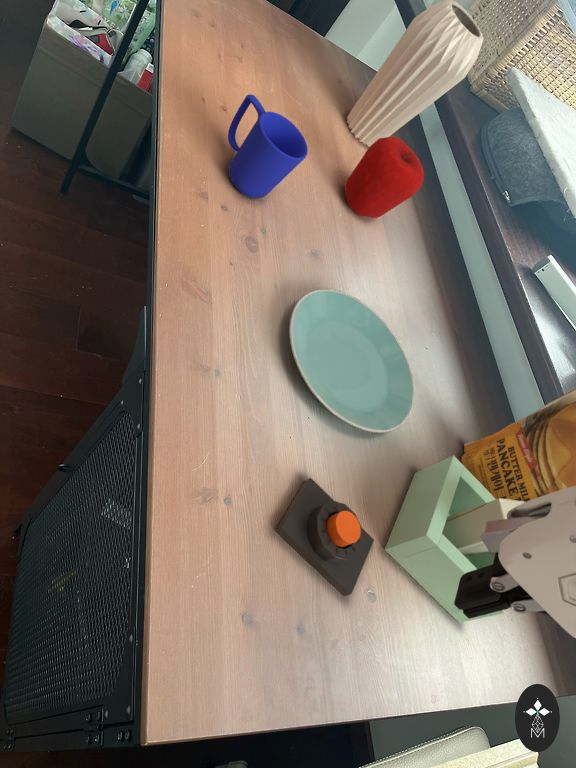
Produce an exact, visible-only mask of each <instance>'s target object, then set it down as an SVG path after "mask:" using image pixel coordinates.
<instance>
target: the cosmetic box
mask: <svg viewBox="0 0 576 768" xmlns="http://www.w3.org/2000/svg"><path fill="white" fill-rule="evenodd" d="M523 503H525V502H523V501H517V500H509V499H500V498H499V499H496V500H493V501H490V502H488V503H485V504H482V505H479V506H476V507H473V508H471V509H468V510H465V511H462V512H459V513H456V514H454V515H451V516H448V517H447V519H446V522H445V525H444V528H443V531H442V534H443V535H444V536H445V537H446V538H447V539H448V540H449V541H450V542H451V543H452V544H453V545H454V546H455V547H456V548H457V549H458V550H459V551H460V552H461V553H462V554H463V555H464V556H465V557H466V558H468V557H471V556H475V555H478V554H482V553H485V552H489V551H488V549H487V547H486V546H485V544H484V543H483V541H482V539H481V534H482V530H483V526H484V523H485V522H489V521H496V520H502V519H507V513H508V512H509V511H510V510H511V509H513V508H515V507H516V506H518V505H521V504H523Z"/></svg>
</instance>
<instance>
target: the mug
mask: <svg viewBox="0 0 576 768" xmlns="http://www.w3.org/2000/svg"><path fill="white" fill-rule="evenodd" d="M250 105H252V106H253V108H254V109H255V111H256V113H257V120H256V121H255V123H254V125H253V126H252V128H251V129H250V131H249V132H248V133H247V136H246V137H245V138H244V140H243V141H242V142H241V143H242V144H241V145H240V146H239V145H238V142H237V140H236V134H237V129H238V127H239V124H240V122H241V121H242V119H243V117H244V116H245V114H246V112H247V111H248V109H249V107H250ZM227 141H228V144H229V147H230V148H231V149H232V150H233V151H235V152H236V153H235V155H234V156H233V158H232V160H231V161H230V163H229V167H228V175H229V179H230V181H231V183H232V184H233V186H234V187H235V189H237V191H239V192H240V193H241V194H243V195H244V196H246V197H248V198H251V199H261V198H264V197H265V196H267V195H268V194H269V193H270V192H272V191H273V190H274V189H275V188H276V187H277V186H278V185H279V184H280V183H281V182H282V181H283V180H284V179H285V178H286V177H287V176H288V175H289V174H290V173H291V172H292V171H293V170H294V169H296V168H297V167H298V166H299V165H300V164H301V163H302V162H303V161H304V160H305V159H306V158H307V156H308V153H309V150H308V149H309V147H308V144H307V141H306V139H305V137H304V136H303V134H302V132H301V131H300V129H299V128H298V127H297V126H296V125H295V124H294V123H293V122H292V121H291V120H290V119H288V118H287V117H285V116H284V115H282V114H280V113H278V112H275V111H266V110H265V108H264V107H263V104H262V103H261V102H260V101H259V99H258V98H257V96H255V95H254V94H252V93H251V94H247V95H246V96H245V97H244V99H243V101H242V102H241V104H240V106H239V107H238V109H237V111H236V113H235V114H234V116H233V119H232V121H231V122H230V125H229V128H228V131H227Z"/></svg>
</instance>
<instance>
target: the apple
mask: <svg viewBox="0 0 576 768" xmlns="http://www.w3.org/2000/svg"><path fill="white" fill-rule="evenodd" d="M424 176H425V171H424V167H423V165H422V163H421V161H420V158H419V157H418V156H417V155H416V153H415V151H413V150H412V149H411V147H409V146H408V144H407V143H405V141H403V140H402V139H401V138H399V137H396V136H389V137H386V138H379V139H378V140H377V141H376V142H374V143H373V144H372V145H371V146H370V147H368V148H367V150H366V151H365V153H364V154H363V156H362V157H361V159H360V160H359V162H358V163H357V165H356V166H355V168H354V169H353V170H352V172H351V173H350V175H349V176H348V177H347V179H346V181H345V199H346V202H347V204H348V206H349V207H350V209H351V210H352V211H353V213H354V214H356V215H358V216H360V217H366V218H372V219H378V218H380V217H382V216H385V214H387V213H388V212H390V211H392V210H393V209H394V208H396V207H398V206H399V205H401V204H403V203H404V202H405V201H407V200H409V199H410V198H413V196H414V195H415V194H416V193H417V192H418V191H419V190H420V189H421V188H422V186H423V183H424V178H425V177H424Z"/></svg>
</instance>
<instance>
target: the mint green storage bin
mask: <svg viewBox="0 0 576 768" xmlns="http://www.w3.org/2000/svg"><path fill="white" fill-rule="evenodd" d="M493 500H496V499H495V498H494V497H493V496H492V495H491V494H490V493H489V492H488V490H487V489H486V488H485V487H484V486H483V485H482V484H481V483H480V482H479V481H478V480H477V479H476V478H475V477H474V476H473V475H472V474H471V473H470V472H469V471H468V470H467V469H466V468H465V467H464V466H463V464H462V463H461V460H459V459H458V458H457V457H456V456H455V455H451V456H449V457H447V458H445V459H442V460H441V461H438V462H436V463H434V464H432V465H430V466H427V467H425V468H423V469H421V470H418V471H416V472H415V473H414V475H413V477H412V480H411V482H410V485H409V487H408V489H407V492H406V494H405V497H404V500H403V502H402V504H401V507H400V509H399V512H398V515H397V517H396V520H395V522H394V525H393V527H392V530H391V533H390V535H389V537H388V540H387V542H386V545H385V547H384V551H385V552H386V554H388V555H389V556H390V557H391V558H392V559H393V560H394V561H395V562H396V563H397V564H398V565H399V566H400V567H401V568H402V569H403V570H404V571H405V572H407V574H408V575H409V576H411V578H412V579H414V581H416V582H417V583H418V584H419V586H420V587H422V588H423V589H424V590H425V591H426V592H427V593H428V594H429V595H430V596H431V597H432V598H433V599H434V600H435V601H436V602H437V603H438V604H439V606H441V607H442V608H443V609H444V610H445V611H446V612H447V613H448V614H449V615H451V617H453V619H454V620H455V621H456V622H457V623H459V624H461V623H467V622H471V621H474V620H479V619H485V618H488V617H494V616H499V615H503V614H506V610H507V609H505V610H502V611H498V612H494V613H490V614H486V615H482V616H478V617H474V618H470V619H469V618H467V617H466V616H465V615H464V614H463V610H459V609H458V608H457V607H456V606H455V605H454V601H455V598H456V594H457V590H458V586H459V581H460V578H461V577H462V575H463V574H465V573H467V572H470V571H473V570H476V569H479V568H482V567H486V566H489V565H492V564H493V562H494V556H493V555H492V554H490V552H485V553H482V554H478V555H475V556H471V557H468V558H466V557H465V556H464V555H463V554H462V553H461V552H460V551H459V550H458V549H457V548H456V547H455V546H454V545H453V544H452V543H451V542H450V541H449V540H448V539H447V538H446V537H445V536H444V535H443V534H442V531H443V528H444V525H445V522H446V519H447V517H448V516H451V515H454V514H456V513H459V512H462V511H465V510H468V509H471V508H473V507H476V506H479V505H482V504H485V503H488V502H490V501H493Z"/></svg>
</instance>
